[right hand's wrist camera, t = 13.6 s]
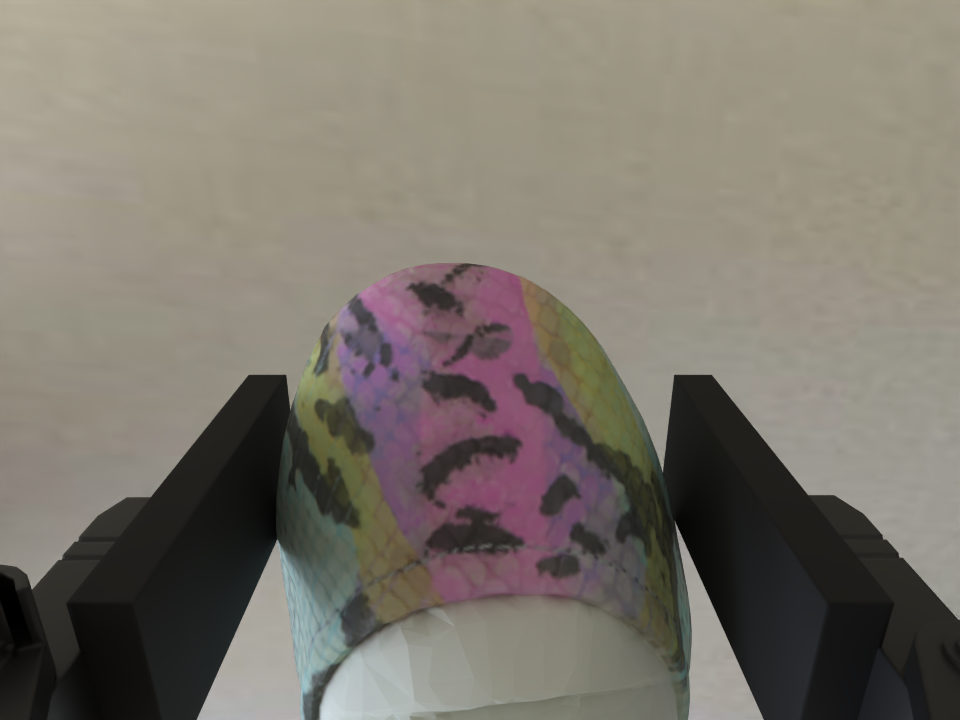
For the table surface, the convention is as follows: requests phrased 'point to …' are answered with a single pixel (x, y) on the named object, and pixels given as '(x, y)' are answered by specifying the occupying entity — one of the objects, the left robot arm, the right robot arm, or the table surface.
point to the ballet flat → (476, 515)
